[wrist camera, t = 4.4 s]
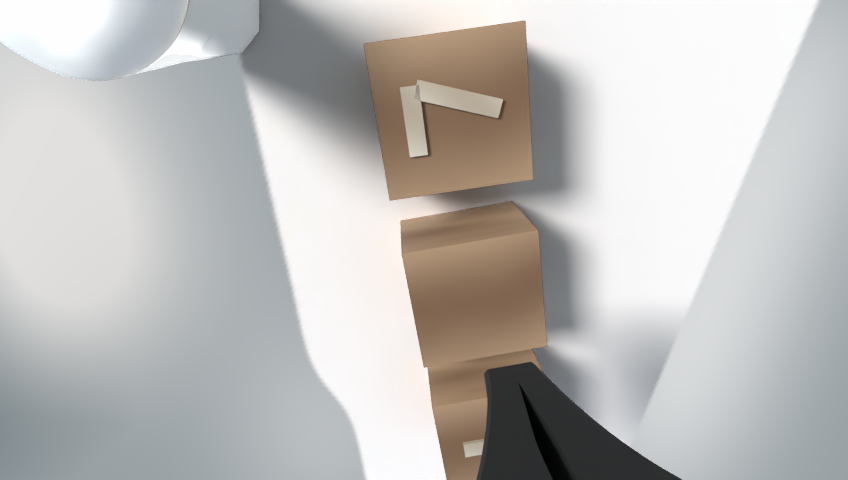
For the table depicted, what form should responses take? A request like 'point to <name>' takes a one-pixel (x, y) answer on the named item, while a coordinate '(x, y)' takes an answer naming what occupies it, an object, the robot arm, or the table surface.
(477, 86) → the digit block seven
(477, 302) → the blank block
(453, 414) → the digit block one
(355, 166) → the table surface
